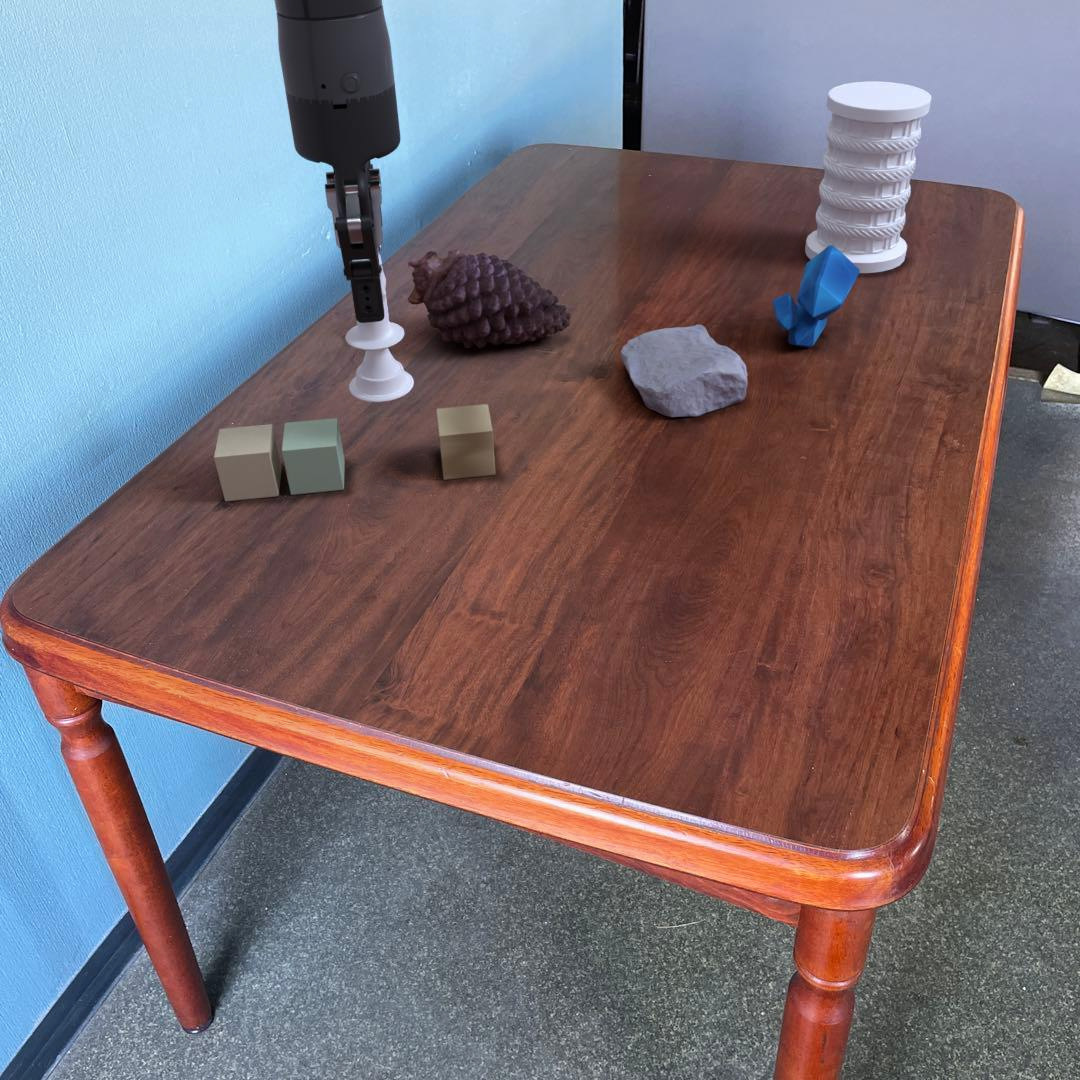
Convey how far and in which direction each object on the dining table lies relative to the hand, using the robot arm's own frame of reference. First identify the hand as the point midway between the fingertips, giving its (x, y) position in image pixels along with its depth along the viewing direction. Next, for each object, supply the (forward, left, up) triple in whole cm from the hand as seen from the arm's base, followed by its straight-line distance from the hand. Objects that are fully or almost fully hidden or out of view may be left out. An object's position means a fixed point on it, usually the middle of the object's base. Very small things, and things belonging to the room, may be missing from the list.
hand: (370, 310), depth 84 cm
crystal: (+44, +18, -15) cm, 50 cm away
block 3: (+7, 0, -15) cm, 17 cm away
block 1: (-12, 0, -15) cm, 19 cm away
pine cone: (+11, +23, -15) cm, 30 cm away
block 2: (-6, 0, -15) cm, 16 cm away
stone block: (+28, +10, -15) cm, 33 cm away
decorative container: (+56, +37, -15) cm, 69 cm away
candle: (0, +1, -7) cm, 7 cm away
